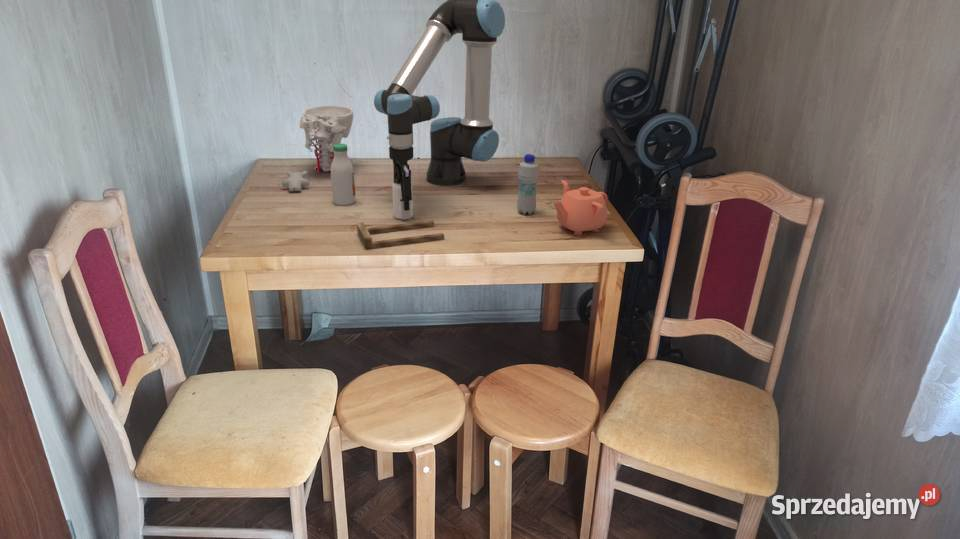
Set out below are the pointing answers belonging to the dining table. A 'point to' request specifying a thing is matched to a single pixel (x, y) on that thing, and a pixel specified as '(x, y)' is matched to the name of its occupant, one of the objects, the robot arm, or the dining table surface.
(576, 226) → the orange rounded piece
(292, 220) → the dining table surface
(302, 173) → the grey lumpy figure
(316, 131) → the skull
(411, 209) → the can
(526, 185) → the bottle
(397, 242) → the guide
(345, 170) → the milk bottle
